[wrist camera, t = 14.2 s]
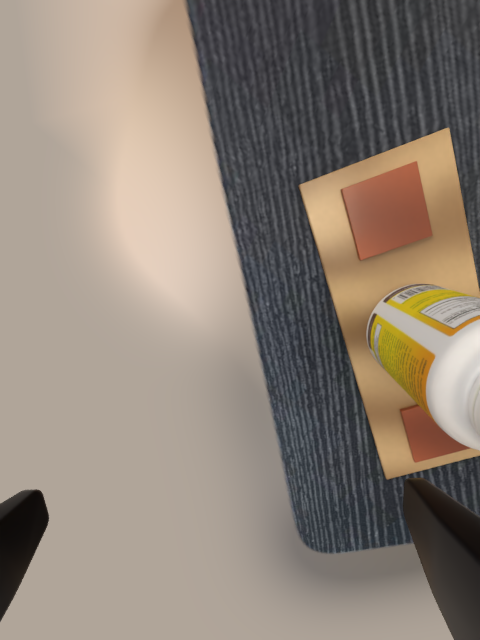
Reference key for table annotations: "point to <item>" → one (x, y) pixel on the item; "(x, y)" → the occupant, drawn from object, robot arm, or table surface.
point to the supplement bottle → (433, 353)
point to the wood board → (393, 274)
